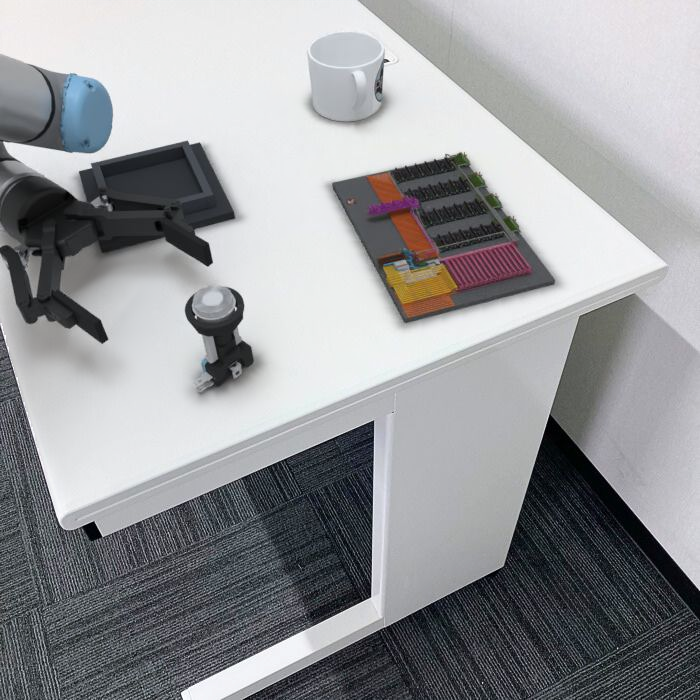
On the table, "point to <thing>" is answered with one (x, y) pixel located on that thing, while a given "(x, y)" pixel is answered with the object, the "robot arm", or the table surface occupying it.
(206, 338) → the push button
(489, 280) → the circuit board
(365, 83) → the mug
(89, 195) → the docking pad
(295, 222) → the table surface
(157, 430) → the table surface
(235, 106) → the table surface
